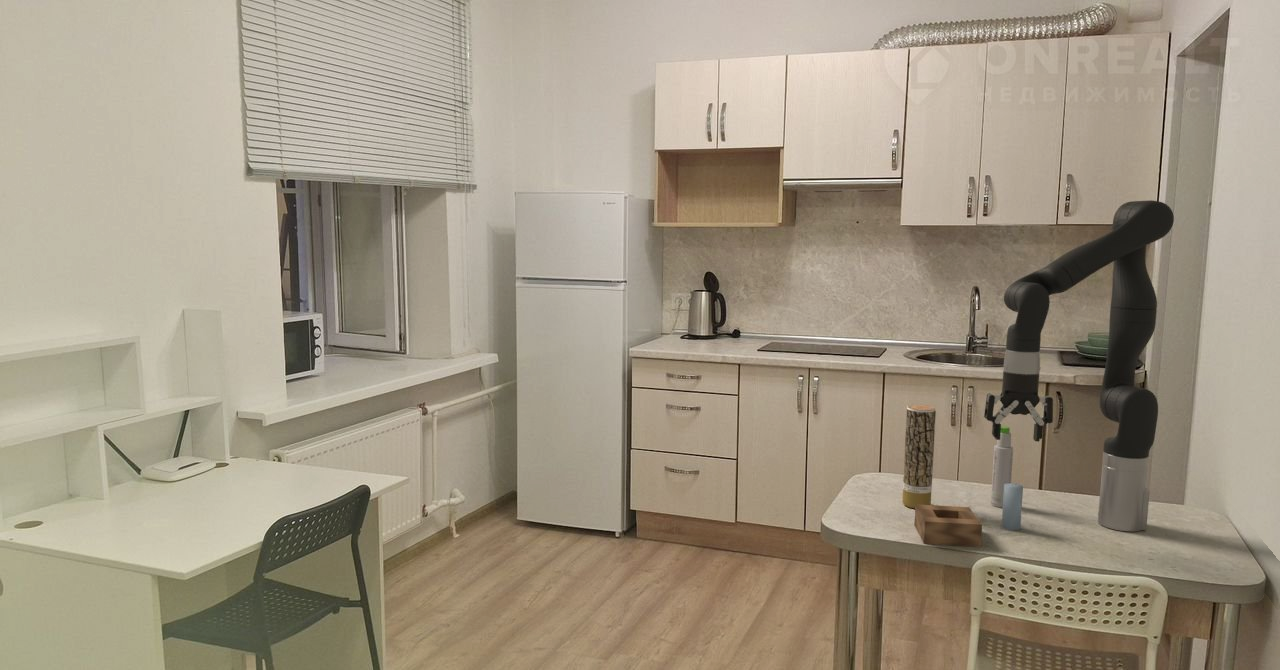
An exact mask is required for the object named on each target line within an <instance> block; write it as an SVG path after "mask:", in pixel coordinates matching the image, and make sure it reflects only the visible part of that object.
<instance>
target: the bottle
mask: <svg viewBox="0 0 1280 670" xmlns="http://www.w3.org/2000/svg"><path fill="white" fill-rule="evenodd" d="M996 441H997V442H996V444H995V445H994V446H993V461H992V463H993V464H992V476H991V477H992V480H991V491H990V492H991V495H990V505H991V506H993V507H995V506H996V508H1000V507H1002V509H1003V496H1004V484H1007V483H1012V476H1013V475H1012V474H1013V473H1012V472H1013V460H1014V458H1013V457H1014V447H1013V446H1012V433H1011V431H1010V427H1009V426H1003V425H1001V433H1000V440H996Z"/></svg>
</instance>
